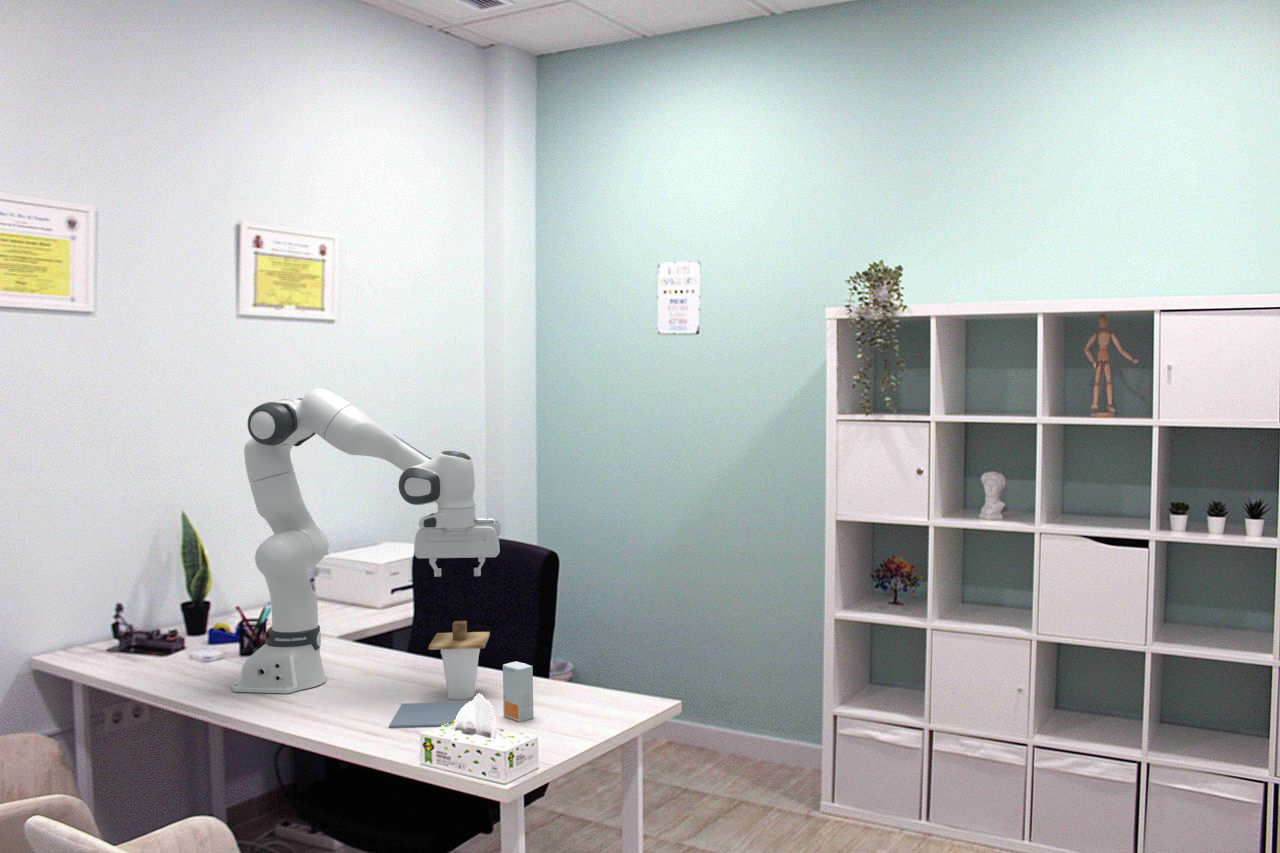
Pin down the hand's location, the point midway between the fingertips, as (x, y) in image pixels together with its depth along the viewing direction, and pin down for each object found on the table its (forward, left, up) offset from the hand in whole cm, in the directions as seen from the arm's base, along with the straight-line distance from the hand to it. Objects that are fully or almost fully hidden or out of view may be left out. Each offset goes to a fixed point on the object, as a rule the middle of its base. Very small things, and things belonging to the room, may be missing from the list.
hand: (457, 576), depth 258 cm
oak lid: (0, -1, -16) cm, 16 cm away
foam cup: (0, -1, -29) cm, 29 cm away
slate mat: (-4, -16, -29) cm, 33 cm away
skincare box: (+15, -19, -29) cm, 38 cm away
